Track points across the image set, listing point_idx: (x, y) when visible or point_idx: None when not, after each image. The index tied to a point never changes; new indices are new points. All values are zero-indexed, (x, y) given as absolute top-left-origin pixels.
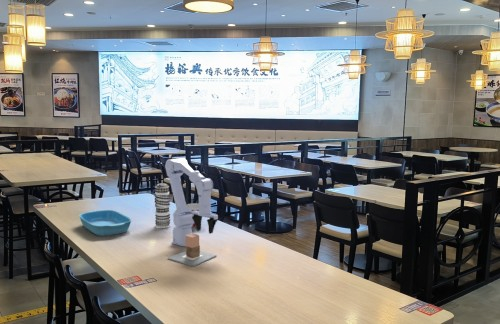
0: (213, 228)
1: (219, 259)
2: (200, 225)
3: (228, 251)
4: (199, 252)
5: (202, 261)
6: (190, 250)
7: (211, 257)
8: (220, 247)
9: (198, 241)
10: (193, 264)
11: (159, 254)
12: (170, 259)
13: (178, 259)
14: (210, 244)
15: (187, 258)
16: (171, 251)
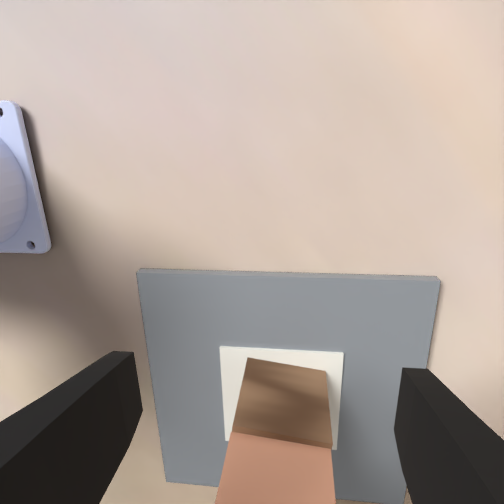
0: (481, 430)
1: (500, 316)
2: (87, 410)
3: (476, 87)
4: (326, 394)
5: None
6: None
7: (429, 343)
8: (319, 34)
9: (332, 502)
10: (389, 494)
11: None
12: (192, 479)
13: None
14: (163, 27)
15: None
16: (68, 370)
